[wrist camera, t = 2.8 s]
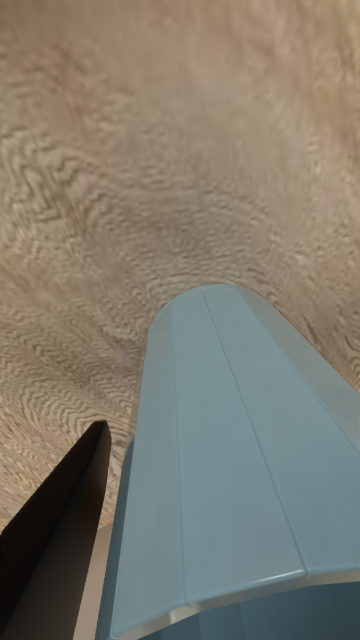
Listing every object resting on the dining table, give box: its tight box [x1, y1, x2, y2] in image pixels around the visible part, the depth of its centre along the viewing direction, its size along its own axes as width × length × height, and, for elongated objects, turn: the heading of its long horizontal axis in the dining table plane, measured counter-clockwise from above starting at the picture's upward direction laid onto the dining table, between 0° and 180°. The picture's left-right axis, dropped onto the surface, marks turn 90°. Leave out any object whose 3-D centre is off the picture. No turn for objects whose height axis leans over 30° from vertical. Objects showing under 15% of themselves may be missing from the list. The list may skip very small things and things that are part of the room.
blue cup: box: [95, 284, 360, 640], centre depth 8 cm, size 7×7×9 cm
